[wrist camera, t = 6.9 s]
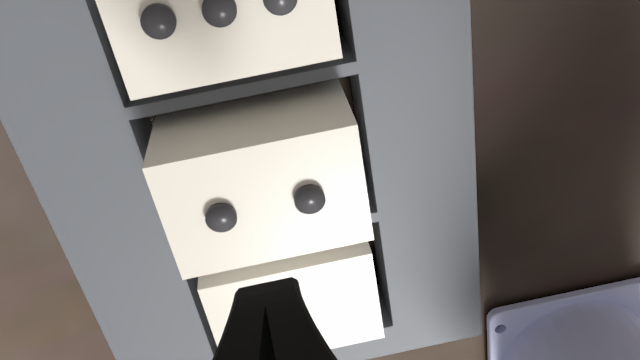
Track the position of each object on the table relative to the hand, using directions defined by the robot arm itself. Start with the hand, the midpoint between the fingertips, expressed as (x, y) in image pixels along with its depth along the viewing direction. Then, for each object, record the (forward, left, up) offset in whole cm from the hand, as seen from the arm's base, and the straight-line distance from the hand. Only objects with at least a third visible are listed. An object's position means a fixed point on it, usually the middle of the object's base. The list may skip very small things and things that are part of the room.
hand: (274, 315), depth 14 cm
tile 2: (-6, 0, -9) cm, 11 cm away
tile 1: (0, 0, -8) cm, 8 cm away
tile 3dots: (+5, 0, -9) cm, 11 cm away
